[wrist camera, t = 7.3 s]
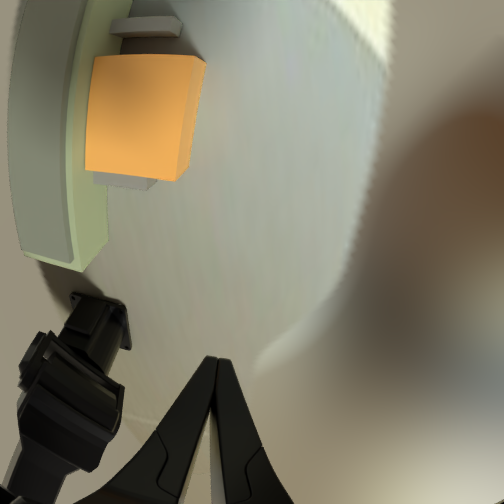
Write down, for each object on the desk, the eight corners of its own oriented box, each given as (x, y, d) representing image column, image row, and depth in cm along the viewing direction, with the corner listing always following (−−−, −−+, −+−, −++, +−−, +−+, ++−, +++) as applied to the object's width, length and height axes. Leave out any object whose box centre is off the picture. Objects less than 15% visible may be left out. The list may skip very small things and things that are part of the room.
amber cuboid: (189, 166, 18) (175, 181, 15) (110, 156, 17) (85, 170, 14) (207, 63, 14) (195, 55, 11) (121, 60, 14) (94, 56, 11)
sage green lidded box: (153, 249, 21) (129, 290, 16) (54, 228, 20) (20, 259, 16) (202, -41, 9) (184, -76, 5) (77, -24, 9) (38, -39, 4)
